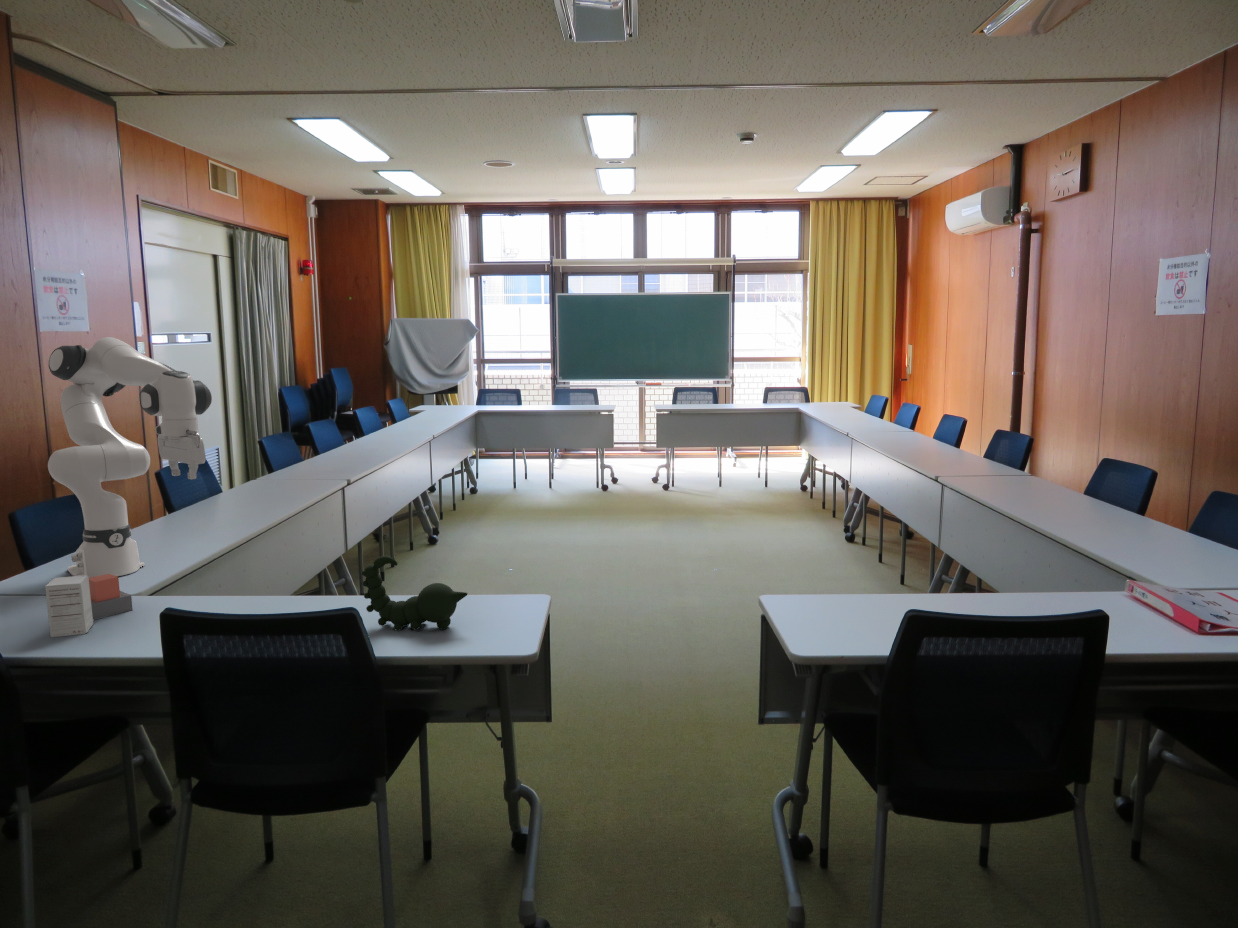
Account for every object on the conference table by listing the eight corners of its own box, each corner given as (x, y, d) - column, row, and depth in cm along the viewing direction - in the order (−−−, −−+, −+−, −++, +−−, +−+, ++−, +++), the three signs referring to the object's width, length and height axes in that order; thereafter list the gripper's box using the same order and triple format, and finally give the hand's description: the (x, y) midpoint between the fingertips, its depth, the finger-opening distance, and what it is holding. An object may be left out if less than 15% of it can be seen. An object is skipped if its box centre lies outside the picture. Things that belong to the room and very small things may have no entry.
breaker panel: (68, 610, 206) (66, 594, 205) (110, 600, 214) (109, 585, 213) (89, 620, 198) (87, 603, 198) (132, 610, 206) (131, 593, 206)
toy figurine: (364, 639, 190) (465, 633, 188) (353, 562, 188) (456, 555, 185) (379, 625, 200) (476, 620, 197) (369, 552, 197) (467, 545, 194)
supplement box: (58, 627, 193) (53, 577, 192) (94, 624, 196) (89, 574, 194) (49, 637, 187) (43, 585, 185) (86, 633, 189) (81, 582, 187)
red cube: (87, 598, 203) (85, 578, 203) (111, 592, 208) (109, 573, 207) (96, 602, 200) (94, 582, 199) (120, 596, 204) (118, 577, 204)
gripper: (210, 430, 221) (213, 479, 223) (175, 426, 233) (178, 472, 235) (186, 432, 216) (190, 482, 218) (152, 427, 228) (156, 475, 230)
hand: (184, 477), depth 227 cm, fingers open, 8 cm apart
